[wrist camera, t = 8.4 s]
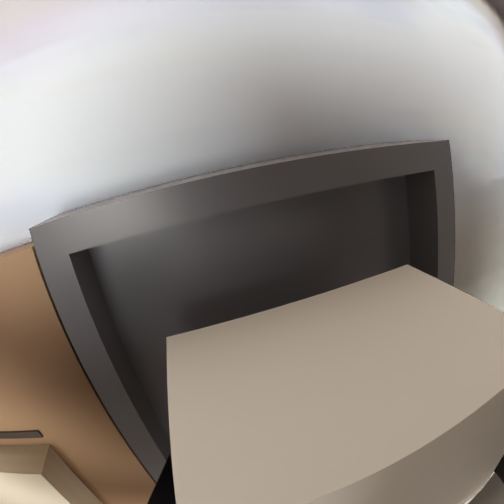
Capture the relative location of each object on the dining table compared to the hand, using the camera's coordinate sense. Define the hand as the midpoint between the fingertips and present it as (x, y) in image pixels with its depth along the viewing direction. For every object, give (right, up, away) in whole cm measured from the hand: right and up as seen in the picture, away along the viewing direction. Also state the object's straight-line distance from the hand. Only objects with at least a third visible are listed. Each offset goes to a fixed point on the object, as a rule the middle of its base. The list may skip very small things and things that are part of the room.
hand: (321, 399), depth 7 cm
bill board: (-11, -6, +2) cm, 13 cm away
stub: (0, 0, +1) cm, 1 cm away
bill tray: (-1, +1, +3) cm, 3 cm away
